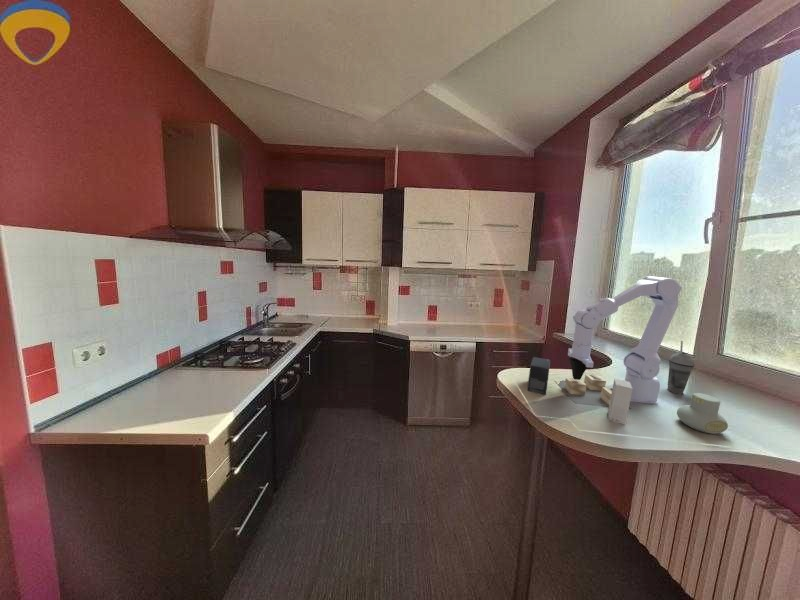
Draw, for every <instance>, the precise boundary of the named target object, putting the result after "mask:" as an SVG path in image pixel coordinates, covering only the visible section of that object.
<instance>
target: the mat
mask: <svg viewBox="0 0 800 600" xmlns="http://www.w3.org/2000/svg"><path fill="white" fill-rule="evenodd" d="M558 387H559V389H561V390H562V392H564V394H565V395H567V396H568V398H569V399H570V400H571V401H572V402H573V403H574V404H577V405H588V406H597V407H606V408H607V407H608V408H609V405H608V404H607V403H606V402H605V401H604V400H603V399H601V398H600V397H601V391H599V390H590V389H589V388H588V387H587V386H586V392H585V395H576V394H570V393H569V392H568V391H567V390H566V389H565V388H564V387H565V380H563V379H562V381H560V383H559V384H558ZM628 410H632V408H631V407H630V406H629V409H628Z"/></svg>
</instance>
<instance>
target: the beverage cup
mask: <svg viewBox="0 0 800 600" xmlns="http://www.w3.org/2000/svg"><path fill="white" fill-rule="evenodd" d="M683 342H684V341H683V340H681V341H680V352H675V353H673V354H672V355H671V356H670V357H669V360H668V366H669V369H668V378H667V391H669V392H671V393H675V394H680V395H683V394H684V392H685V389H686V386H687V384H688V381H689V379H690V375H691V373H692V371H693V370H694V367H695V360H694V358H693V357H692V356H691V355H690V354H689V353H687V352H683V347H684V346H683V344H684V343H683Z"/></svg>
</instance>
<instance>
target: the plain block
mask: <svg viewBox="0 0 800 600" xmlns="http://www.w3.org/2000/svg"><path fill="white" fill-rule="evenodd" d="M564 381H565V387H564V388H565V389H566V390H567V391H568V392H569V393H570V394H576V395H585V392H586V386H587V385H586V384H585V383H584V381H583V380H581V379H580V380H577V379H574V378H573V377H565V380H564Z"/></svg>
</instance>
